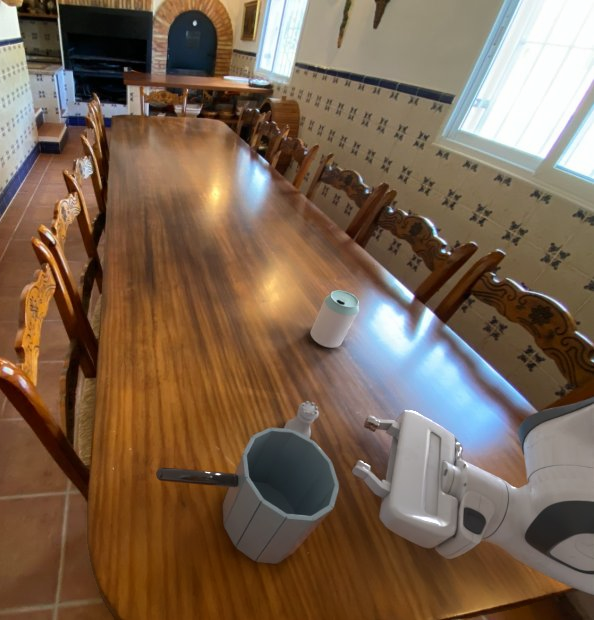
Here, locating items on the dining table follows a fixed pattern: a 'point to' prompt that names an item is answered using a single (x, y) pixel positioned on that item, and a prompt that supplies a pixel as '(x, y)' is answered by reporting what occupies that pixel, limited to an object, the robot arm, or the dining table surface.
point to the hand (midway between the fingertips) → (360, 442)
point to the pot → (271, 493)
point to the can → (335, 318)
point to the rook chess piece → (303, 419)
